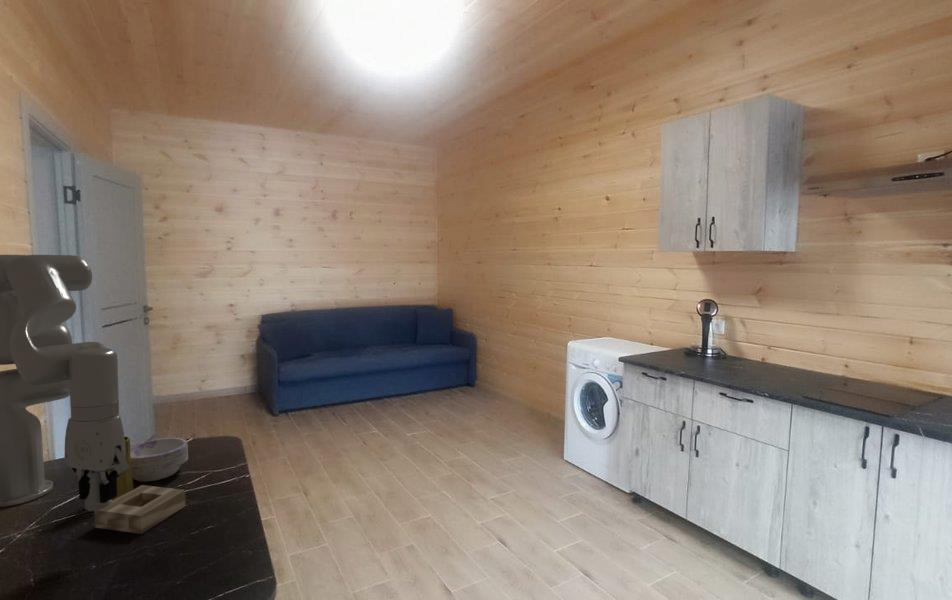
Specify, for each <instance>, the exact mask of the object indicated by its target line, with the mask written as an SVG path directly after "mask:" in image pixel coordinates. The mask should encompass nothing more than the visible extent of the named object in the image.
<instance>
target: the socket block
mask: <svg viewBox="0 0 952 600" xmlns="http://www.w3.org/2000/svg"><path fill="white" fill-rule="evenodd" d="M185 507H186V490H185V489H179V488H173V487H172V488H170V487H161V486H152V485H145V484H142V485H139V486H138V487H136V488H134V490H132V491H130V492H128V493H126V494H124V495H122V496H120V497H118V498H116V499H114V500H113V501H112V502H111V504H110V505H109V506H108V507H106V508H104V509H101V510H97V511H93V512H94V528H95V529H104V530H112V531H118V532H125V533H126V532H127V533H132V534H140V535H141V534H144V533H145V532H147V531H148V530H151V528H153V527H155V526H157V525H158V524H160V523H161V522H163V521H164V520H166V519H168V518H170V516H172V515H174V514H175V513H177V512H178V511H180V510H182V509H183V508H185Z"/></svg>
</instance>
